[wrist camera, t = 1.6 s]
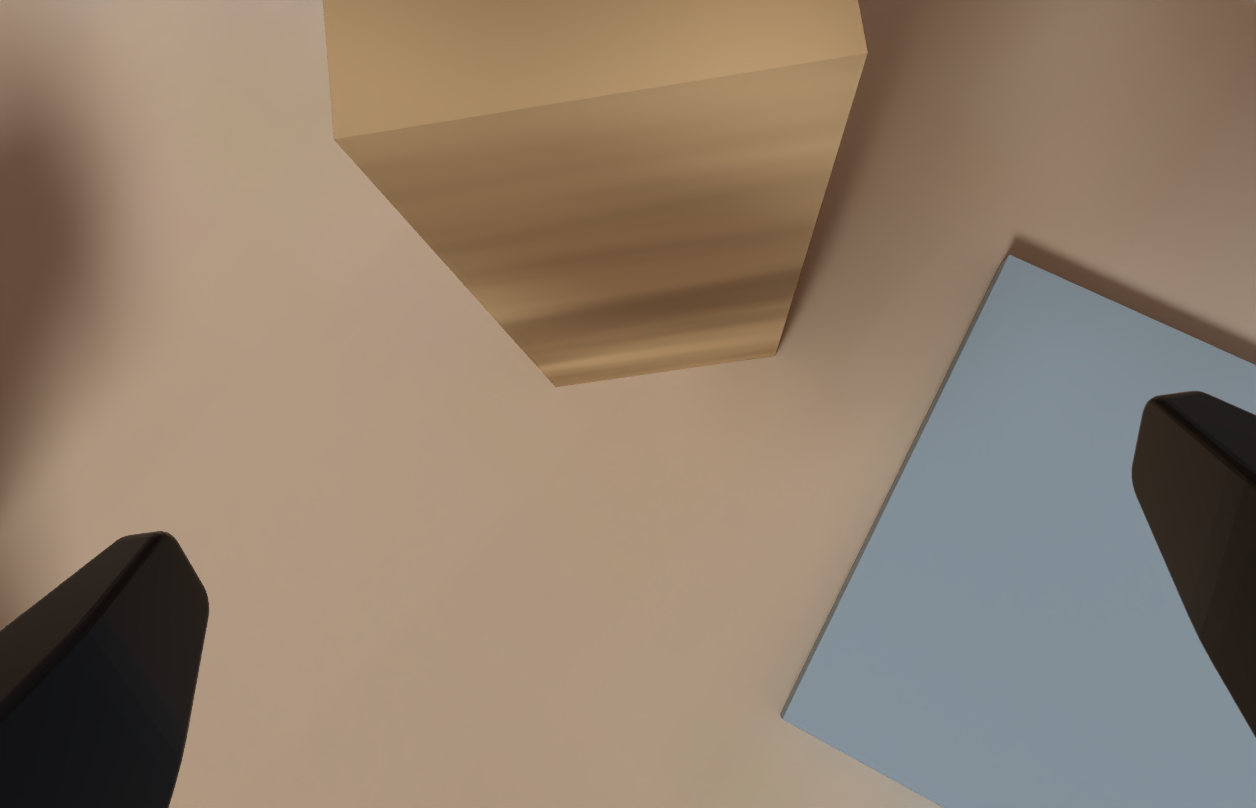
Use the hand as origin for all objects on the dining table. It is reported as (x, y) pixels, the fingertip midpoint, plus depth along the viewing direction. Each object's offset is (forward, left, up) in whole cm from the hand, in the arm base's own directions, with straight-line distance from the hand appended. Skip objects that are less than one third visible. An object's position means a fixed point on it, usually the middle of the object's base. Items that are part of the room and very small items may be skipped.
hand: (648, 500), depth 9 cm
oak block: (+5, +3, -12) cm, 14 cm away
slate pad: (+3, -10, -12) cm, 16 cm away
